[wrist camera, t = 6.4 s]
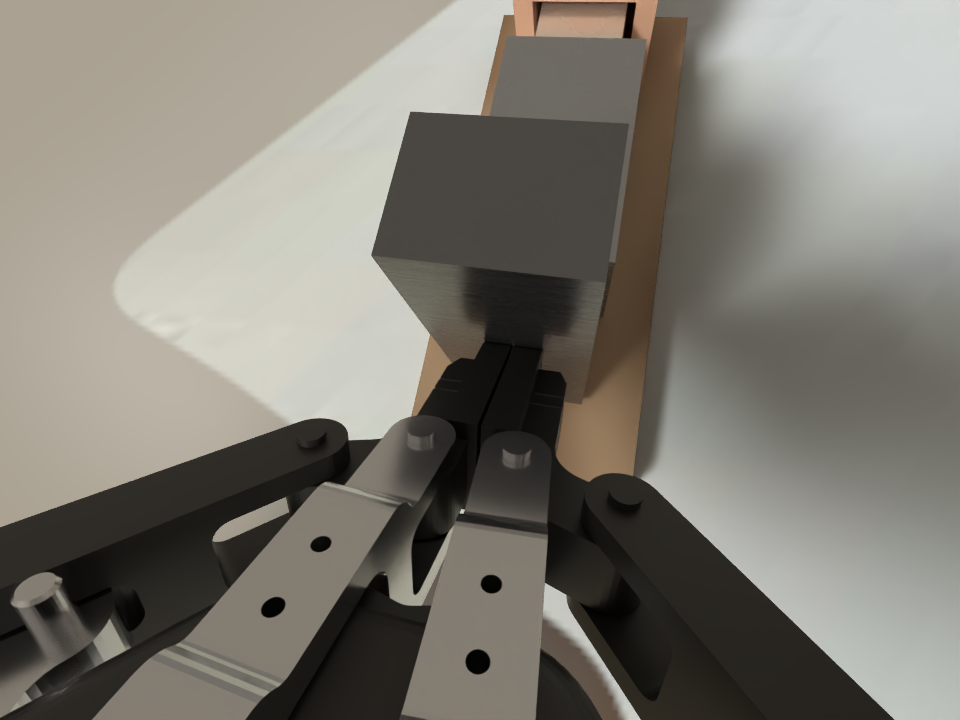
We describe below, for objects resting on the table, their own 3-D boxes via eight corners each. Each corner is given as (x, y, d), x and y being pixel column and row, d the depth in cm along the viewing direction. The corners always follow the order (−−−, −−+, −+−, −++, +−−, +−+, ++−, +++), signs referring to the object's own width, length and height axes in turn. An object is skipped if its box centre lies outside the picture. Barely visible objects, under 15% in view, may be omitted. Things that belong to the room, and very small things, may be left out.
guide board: (679, 47, 23) (687, 18, 22) (625, 493, 18) (631, 492, 17) (507, 43, 25) (504, 15, 23) (415, 453, 20) (403, 449, 18)
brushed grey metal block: (638, 25, 22) (698, -353, 12) (581, 404, 18) (605, 282, 8) (543, 23, 22) (531, -333, 13) (469, 386, 18) (371, 255, 9)
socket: (651, 17, 22) (674, -111, 18) (640, 93, 21) (662, -21, 17) (536, 15, 23) (530, -106, 19) (521, 88, 22) (510, -21, 18)
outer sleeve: (629, 133, 21) (646, 38, 17) (603, 317, 19) (614, 262, 15) (517, 127, 22) (507, 35, 17) (481, 301, 20) (459, 246, 15)
